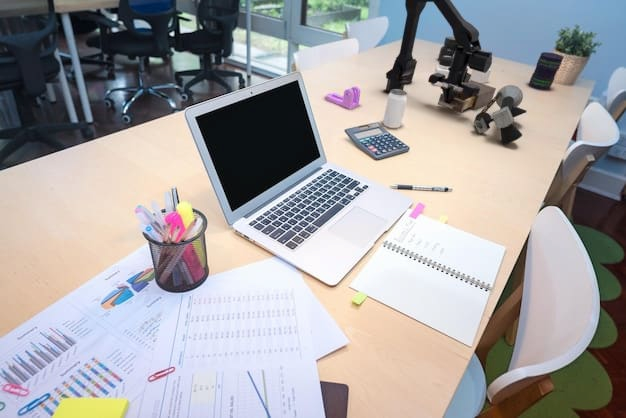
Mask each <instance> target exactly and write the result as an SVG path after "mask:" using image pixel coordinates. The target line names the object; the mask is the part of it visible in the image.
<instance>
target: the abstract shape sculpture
mask: <svg viewBox="0 0 626 418" xmlns="http://www.w3.org/2000/svg"><path fill="white" fill-rule="evenodd" d="M523 100H524V94H523V91H522V89H521V88H520V87H519V86H517V85H514V84H509V85H504V86H503V87H501V88H499V90H498V91H497V92H496V94H495V95H494V96H493V98H492V100H491V102H490V103H488V104H486V105H485V106H483V107H484V108H482V109H481V111H480V112H479V113H477V114H476V115H475V118H474V121H473V124H474V126H475V128H476V130H477V133H478V134H479V135H480V134H482V133H485V132H487V131H489V130H490V128H491V126H490V124H491V123H492V122H494V123H495V126H496V128H497V130H500V141H501V144H502V145H508V144H510V143H514V142H515V141H517V140H519V139H520V138H522V137H523V133H522V132H521V131H520V130H519V129H518V128H517V127H516V126H515V125H514V124H513V123H514V119H515V118H516V117H518V116H522V115H523V114H526V113H527V110H526V109H523V108H521V107H519V106H520V105H521V103H522V101H523ZM495 103H496V105H497V107H499V109H497V110H495V111H493V112H492V114H490V113H488V110H489V109H490V108H492V106H493V105H494V104H495Z"/></svg>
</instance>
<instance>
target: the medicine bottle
mask: <svg viewBox="0 0 626 418" xmlns="http://www.w3.org/2000/svg"><path fill="white" fill-rule="evenodd" d="M452 60H453V58H452V57H449V56H443V57H441V58H440V61H439V62H438V64H436V65H435V69H434V73H433V74H435V73H440V74H443V75H445V77H446V78H448V74H449V70H448V68H449V67H451V64H452ZM442 84H443V83H441V82H437V83H435V84H433V83H432V85H433V86H439V87H441V86H442Z"/></svg>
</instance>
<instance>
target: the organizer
mask: <svg viewBox="0 0 626 418" xmlns="http://www.w3.org/2000/svg"><path fill="white" fill-rule="evenodd" d="M462 84H464V85H468V84H474V85H477V86H479V88H480V91H479V94H477V95H474V96H476V100H475V102H474V105H473V106H471V107H469V108H468V109H470V110H473V111H475V110H477V109H479V108H482V107H485V106H486V105H488V103H490V102H491V100H492V99H494V96H495V93H496V90H497V88H496V87H494V86H490V85H488V84H485V83H478V82H475V81H472V80H469V82H468V83H466V82H465V83H462ZM453 89H454V88H453Z"/></svg>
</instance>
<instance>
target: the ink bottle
mask: <svg viewBox="0 0 626 418" xmlns="http://www.w3.org/2000/svg"><path fill="white" fill-rule="evenodd" d="M443 42H444V43H443V45H442V46H441V47H440V48H439V54H438V56H437V61H439V62H440V58H441V57H443V56H449V57H452V58H453V57H454V53H455V51H453V50H450V48H451V47H453V46H454V45H455V44H457V42H456V40H455V38H454V36H445V39H444V41H443Z"/></svg>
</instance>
